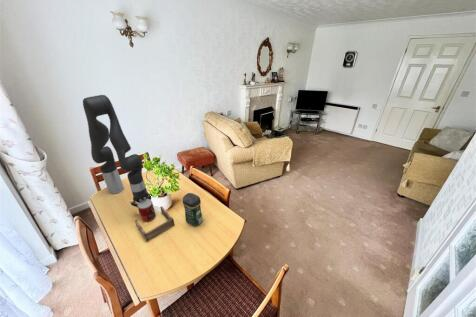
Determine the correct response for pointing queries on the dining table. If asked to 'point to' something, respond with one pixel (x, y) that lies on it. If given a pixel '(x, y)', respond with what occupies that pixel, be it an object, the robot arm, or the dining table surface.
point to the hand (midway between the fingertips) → (144, 210)
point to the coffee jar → (192, 209)
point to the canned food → (146, 210)
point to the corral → (158, 229)
